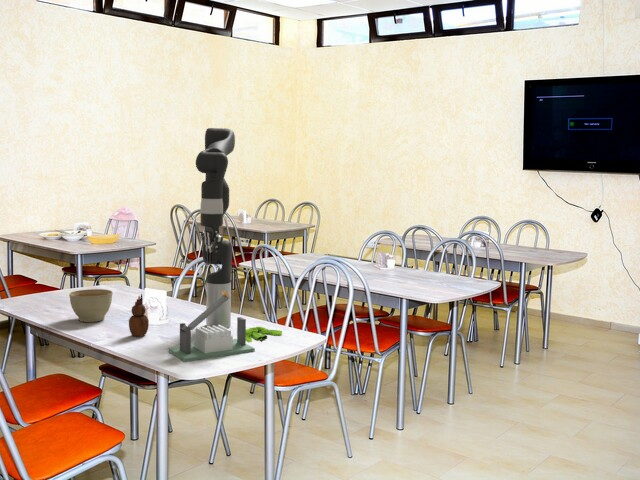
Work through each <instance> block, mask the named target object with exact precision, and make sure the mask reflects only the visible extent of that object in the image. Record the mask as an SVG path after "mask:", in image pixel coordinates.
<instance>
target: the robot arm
mask: <svg viewBox="0 0 640 480" xmlns="http://www.w3.org/2000/svg"><path fill="white" fill-rule="evenodd" d="M235 136H236V135H235V132H234V131H233V130H232V129H231V128H221V127H219V128H218V127H208V128H207V129H206V131H205V134H204V149H203V150H202V151H200V152H199V153H198V154H197V155H196V159H195V167H196V170H197V171H199V172H200V174H201V173H202V174H205V178H204V179H205V180H204V181H202V183H201V188H200V191H201V192H200V193H201V195H200V196H201V198H200V200H201V201H200V226H202V227H203V228H204V229H203V232H201V233H200V237H201V241H202V254H201V256H202V261H203V263H204V264H206V265H217V266H218V265H219V266H221V268H220V269H219V270H216V271H213V272H210V273H208V274H207V275H206V305H205V306H206V309H205V310H207V309H208V308H209V307H210V306H211V305H212V304H214V303H215V302H216V301H217V300H218V299H220V298H221V297H222V296H223V294H222V291H226V292H227V293H228V295H229V299H228V300H227V301H226V302H224V303H223V304H222V305H221V306H220V307H219V308H217V309H216V310H215V311H214V312H213V313H212V314H210V315H209V316H208V317H207V318H206V319H205V320H206V322H205V323H206V324H205V325H206V327H207V326H210V327H212V326H213V325H214V326H216V327H218V325H221V326H223V327H225V328H227V329H229V328H230V327H231V321H232V320H231V318H232V317H231V316H232V312H231V311H232V305H231V304H232V303H231V302H232V261H233V260H232V259H233V245H232V244H233V243H232V242H231V241H229V240H224V237H223V235H220V227H222V226H224V215H225V214H226V212H227V211H228V209H229V206H230V186H229V184H228V183H227V181H226V179H225V177H226V176H225V175H226V172H227V169H228V165H229V158H228V156H229V155H230V154H231V153H233V151H234V149H235V144H236V137H235Z"/></svg>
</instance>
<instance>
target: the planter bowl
mask: <svg viewBox="0 0 640 480" xmlns="http://www.w3.org/2000/svg"><path fill="white" fill-rule="evenodd" d="M68 296H69V301H70V305H71V309H72V310H73V312H74V314H75V315H76V316H77V318H78V321H79V320H80V321H79V322H83V321H84V323H85V322H86V323H95V322H100V321H103V320H105V316H106V315H107V313H108V312H109V310H110V308H111V305H112V301H113V290H109V289H103V288H90V289H89V288H88V289H80V290H79V289H78V290H73V291H71V292H69V294H68Z"/></svg>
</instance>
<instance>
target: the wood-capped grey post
mask: <svg viewBox="0 0 640 480" xmlns="http://www.w3.org/2000/svg"><path fill="white" fill-rule="evenodd" d="M222 294H223V296H222V297H221V298H220V299H218V300H217V301H216V302H215V303H214V304H212V305H211V306H210V307H209V308H208V309H207V310H206V309H205V310H204V311H203V312H202V313H201V314H199V315H198V316H197V317H195V319H194V320H192V321H191V322H190V323H188V325H186V323H185V324H183V325H181V329H182V330H184V331H185V327H186V326H191V331H193V330H194V329H196V328H197V326H199V325H200V324H202V323H203V321H205V320H206V318H207V317H208V316H209V315H210V314H212V313H213V312H214V311H215V310H216V309H217V308H219V307H220V306H221V305H222V304H223V303H224V302H226V301H227V300H228V299H229V295H228V293H227V292H226V291H222Z"/></svg>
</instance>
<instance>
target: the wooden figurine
mask: <svg viewBox="0 0 640 480" xmlns="http://www.w3.org/2000/svg"><path fill="white" fill-rule="evenodd" d="M131 314H132V315H131V316H130V317H129V319H128V328H129V332H130V334H131V336H133V337H143V336H145V335H146V334H147V332H148V331H149V330H148V329H149V326H150V325H149V318H148V316H147V315H146V306H145V305H144V302H143V293H141V294H140V295H138V298H137V299H136V301H135V302H134V305H133V306H132V307H131Z"/></svg>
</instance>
